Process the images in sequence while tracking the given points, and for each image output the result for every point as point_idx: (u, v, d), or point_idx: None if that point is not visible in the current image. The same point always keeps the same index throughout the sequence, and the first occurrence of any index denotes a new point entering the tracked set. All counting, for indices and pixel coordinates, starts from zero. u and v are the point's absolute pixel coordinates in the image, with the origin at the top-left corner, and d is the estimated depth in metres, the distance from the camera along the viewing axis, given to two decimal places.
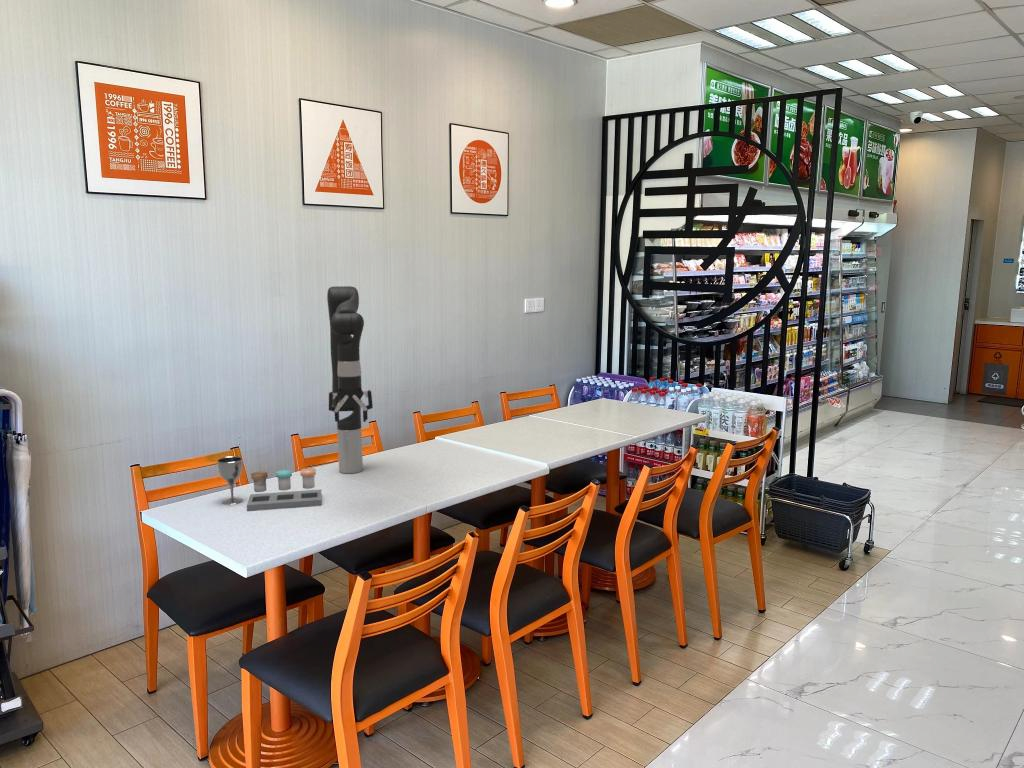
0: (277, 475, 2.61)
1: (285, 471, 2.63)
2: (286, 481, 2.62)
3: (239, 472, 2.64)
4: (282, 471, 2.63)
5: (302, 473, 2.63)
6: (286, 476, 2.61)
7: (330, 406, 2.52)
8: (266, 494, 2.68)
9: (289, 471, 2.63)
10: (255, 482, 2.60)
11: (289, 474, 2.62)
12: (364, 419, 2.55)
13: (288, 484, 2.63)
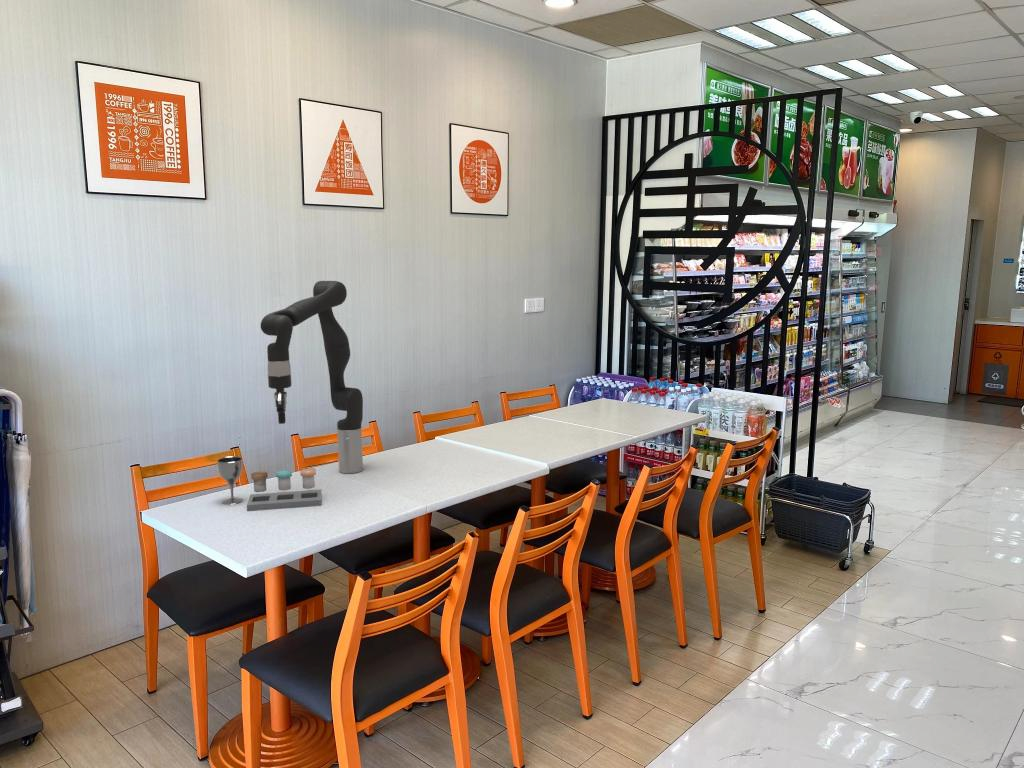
0: (277, 475, 2.61)
1: (285, 471, 2.63)
2: (286, 481, 2.62)
3: (239, 472, 2.64)
4: (282, 471, 2.63)
5: (302, 473, 2.63)
6: (286, 476, 2.61)
7: (284, 408, 2.61)
8: (266, 494, 2.68)
9: (289, 471, 2.63)
10: (255, 482, 2.60)
11: (289, 474, 2.62)
12: (285, 420, 2.66)
13: (288, 484, 2.63)
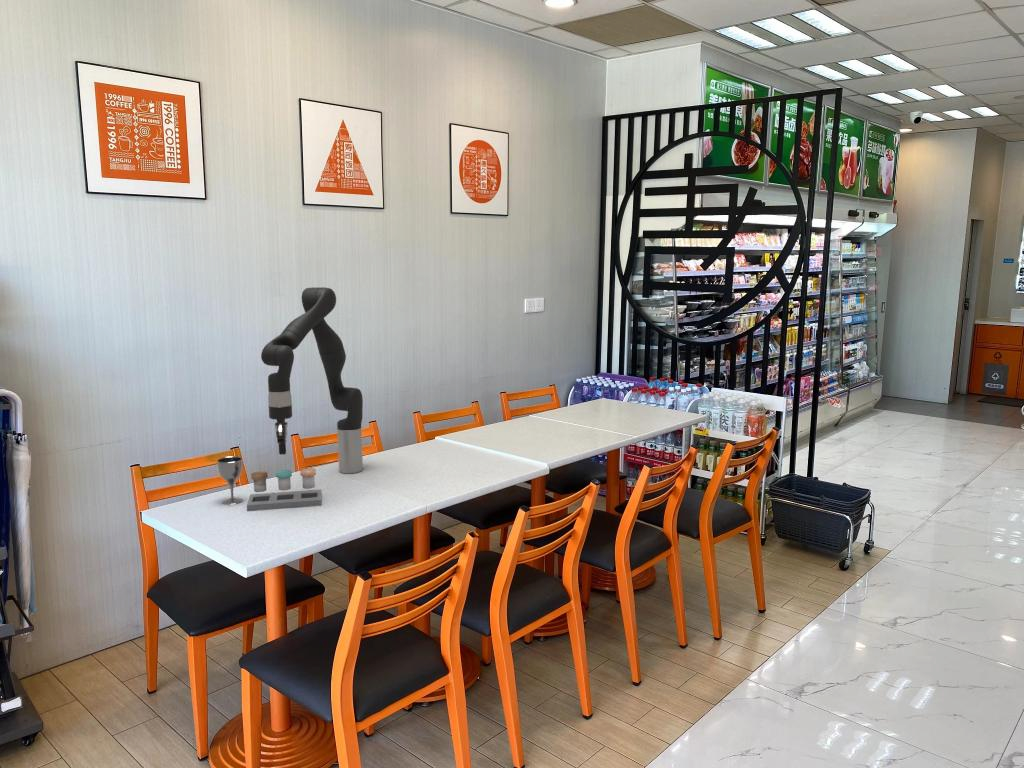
0: (277, 475, 2.61)
1: (285, 471, 2.63)
2: (286, 481, 2.62)
3: (239, 472, 2.64)
4: (282, 471, 2.63)
5: (302, 473, 2.63)
6: (286, 476, 2.61)
7: (284, 439, 2.58)
8: (266, 494, 2.68)
9: (289, 471, 2.63)
10: (255, 482, 2.60)
11: (289, 474, 2.62)
12: None
13: (288, 484, 2.63)
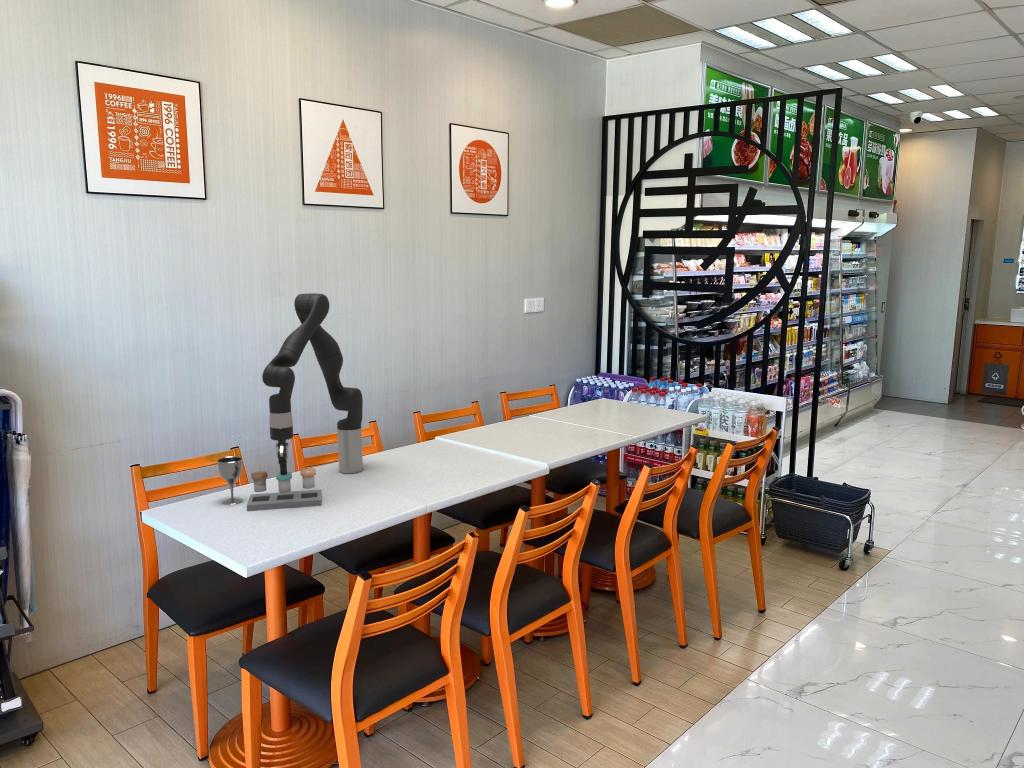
0: (277, 477, 2.61)
1: None
2: (287, 484, 2.62)
3: (239, 472, 2.64)
4: None
5: (302, 473, 2.63)
6: (286, 478, 2.61)
7: (286, 460, 2.59)
8: (266, 494, 2.68)
9: (289, 473, 2.63)
10: (255, 482, 2.60)
11: (289, 476, 2.62)
12: None
13: (288, 486, 2.63)
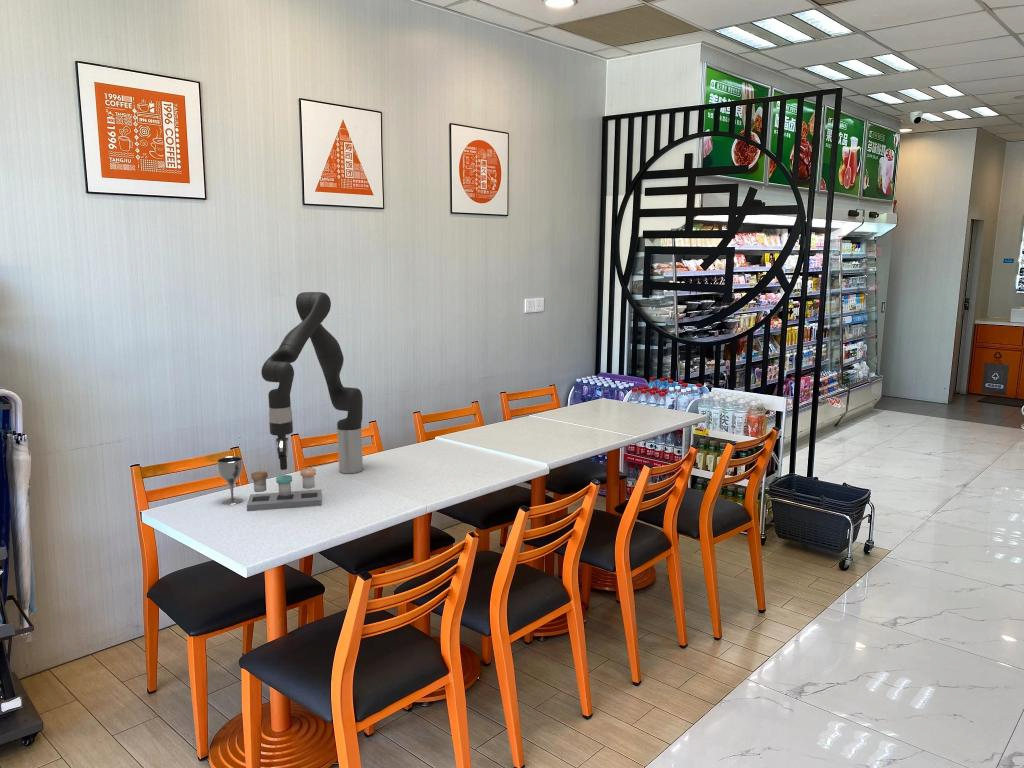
0: (277, 480, 2.61)
1: (285, 476, 2.64)
2: (287, 487, 2.62)
3: (239, 472, 2.64)
4: (282, 476, 2.64)
5: (302, 473, 2.63)
6: (286, 481, 2.61)
7: (286, 455, 2.59)
8: (266, 494, 2.68)
9: (289, 476, 2.64)
10: (255, 482, 2.60)
11: (289, 479, 2.62)
12: None
13: (288, 489, 2.63)
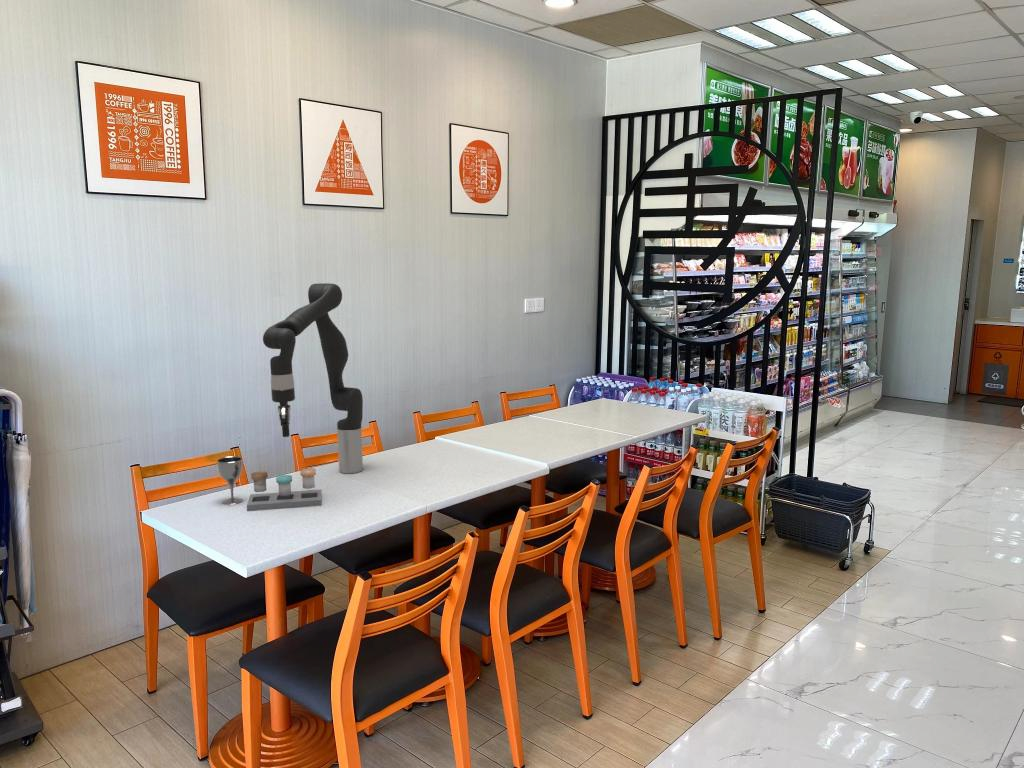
0: (277, 480, 2.61)
1: (285, 476, 2.64)
2: (287, 487, 2.62)
3: (239, 472, 2.64)
4: (282, 476, 2.64)
5: (302, 473, 2.63)
6: (286, 481, 2.61)
7: (288, 422, 2.59)
8: (266, 494, 2.68)
9: (289, 476, 2.64)
10: (255, 482, 2.60)
11: (289, 479, 2.62)
12: None
13: (288, 489, 2.63)
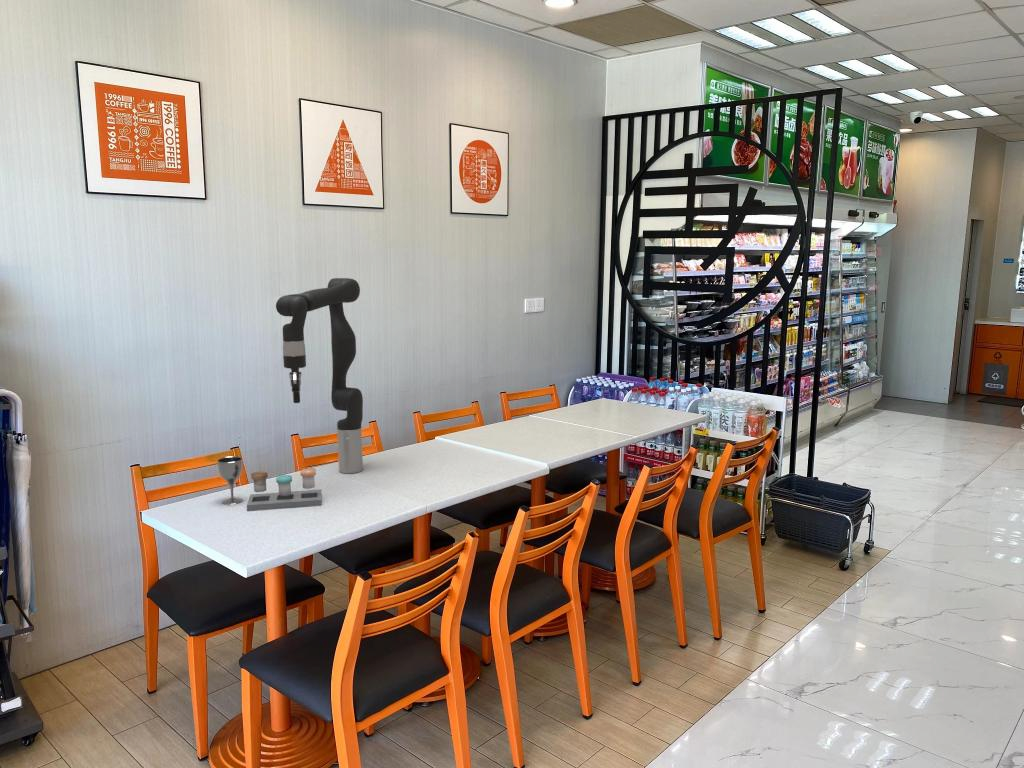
0: (277, 480, 2.61)
1: (285, 476, 2.64)
2: (287, 487, 2.62)
3: (239, 472, 2.64)
4: (282, 476, 2.64)
5: (302, 473, 2.63)
6: (286, 481, 2.61)
7: (299, 388, 2.66)
8: (266, 494, 2.68)
9: (289, 476, 2.64)
10: (255, 482, 2.60)
11: (289, 479, 2.62)
12: None
13: (288, 489, 2.63)
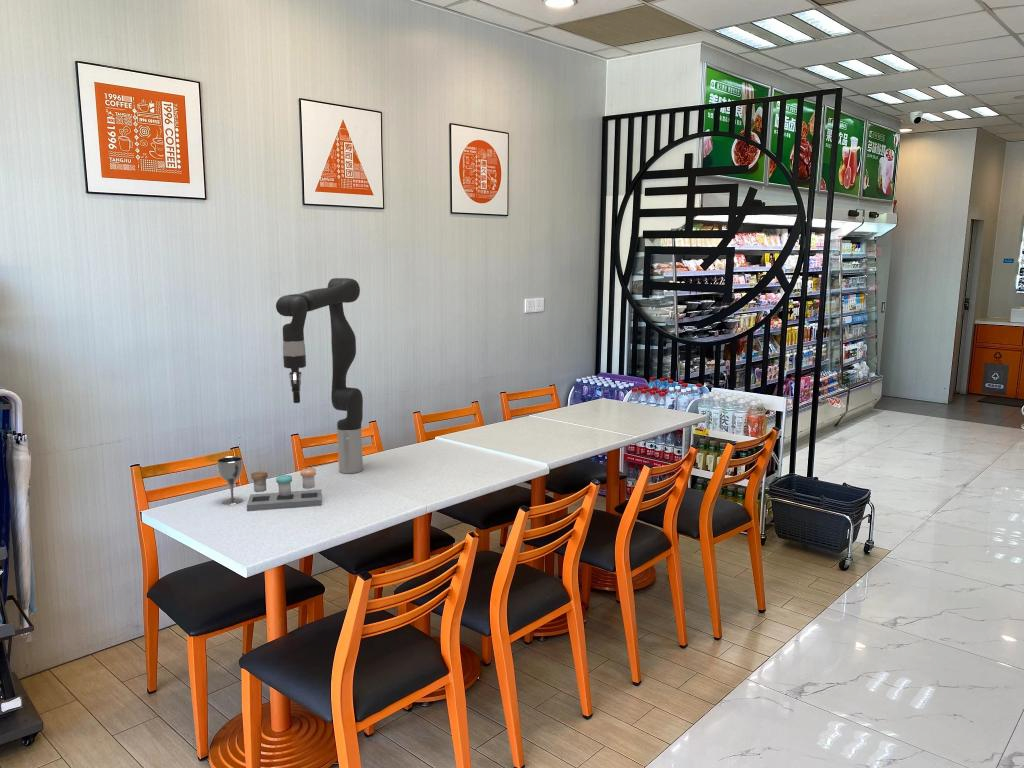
0: (277, 480, 2.61)
1: (285, 476, 2.64)
2: (287, 487, 2.62)
3: (239, 472, 2.64)
4: (282, 476, 2.64)
5: (302, 473, 2.63)
6: (286, 481, 2.61)
7: (299, 388, 2.66)
8: (266, 494, 2.68)
9: (289, 476, 2.64)
10: (255, 482, 2.60)
11: (289, 479, 2.62)
12: None
13: (288, 489, 2.63)
